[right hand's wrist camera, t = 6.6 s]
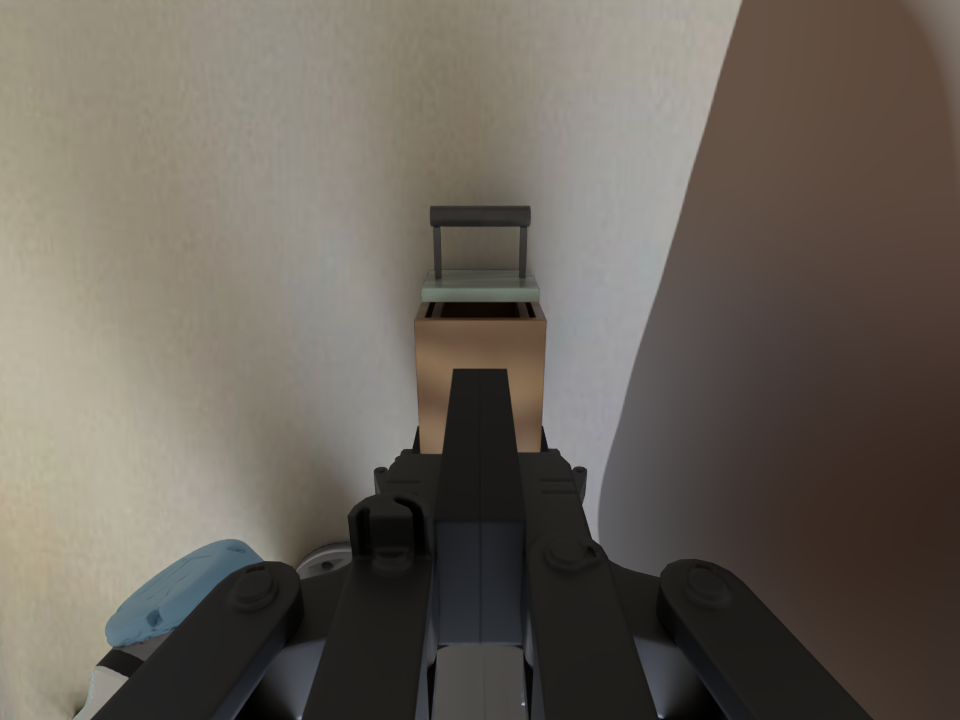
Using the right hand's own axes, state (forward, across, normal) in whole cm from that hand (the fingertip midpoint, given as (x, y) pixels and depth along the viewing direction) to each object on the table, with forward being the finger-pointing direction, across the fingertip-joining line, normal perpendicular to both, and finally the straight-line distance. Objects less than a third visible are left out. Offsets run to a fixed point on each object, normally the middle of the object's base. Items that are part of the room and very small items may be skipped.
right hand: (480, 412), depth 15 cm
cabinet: (+38, 0, -14) cm, 41 cm away
